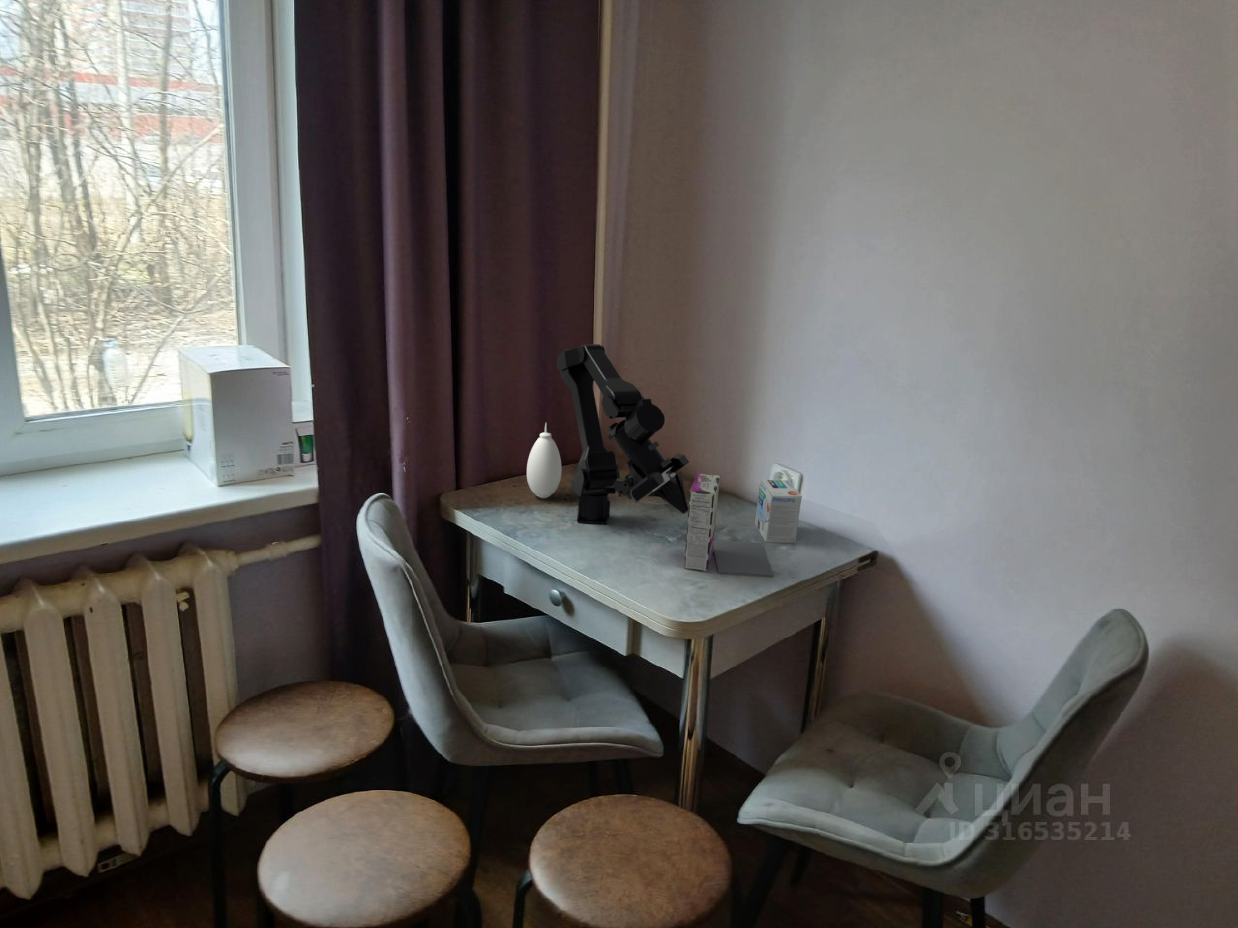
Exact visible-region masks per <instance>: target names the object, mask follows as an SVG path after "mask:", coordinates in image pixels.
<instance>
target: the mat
mask: <svg viewBox="0 0 1238 928" xmlns="http://www.w3.org/2000/svg"><path fill="white" fill-rule="evenodd" d="M713 555H714V559H715V563H716V564H715V565H716V569H717V572H718V574H719V575H734V576H735V575H737V576H749V575H755V576H754V577H765V576H767V578H768V577H769V578H772V577H774V574H773V571H772V569H771V566H770V563H769V559H768V558H767V555H766V552H765V549H764V545H763V544H762V542H751V541H734V540H733V541H732V540H719V539H718V540H717V539H714V546H713Z"/></svg>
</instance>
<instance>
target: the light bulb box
mask: <svg viewBox="0 0 1238 928" xmlns="http://www.w3.org/2000/svg"><path fill="white" fill-rule="evenodd" d="M758 491H759V492H758V497H757V498H758V499H757V504H756V505H757V507H756V515H755V520H754V524H755V527H756V528H757V530H758V532H759V533H760V535H761V536H762V538H763V540H764V542H765V543H773V544H774V543H775V544H778V543H781V544H796V539H797V532H798V527H799V526H798V525H799V518H800V511H801V510H800V509H801V503H802V498H803V497H802V495H801V493H800V492H799V491H798V490H797V489H796V488H795V485H793V484H792V482H790V480H788V479H787V480H785V479H784V480H782V479H774V480H773V479H760V480H759V490H758Z"/></svg>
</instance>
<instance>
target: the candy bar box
mask: <svg viewBox="0 0 1238 928" xmlns="http://www.w3.org/2000/svg"><path fill="white" fill-rule="evenodd" d="M720 477H721V476H720V475H717V474H709V473H708V474H707V473H702V472H701V473H700V472H699V473H696V475H695V478H694V481H693V483H692V485H691V488H690V490H689V503H688V504H689V505H688V511H687V512H688V513H687V526H686V527H687V528H686V538H685V539H686V540H685V541H686V542H685V549H684V552H685V554H684V564H683V568H684V569H685V570H690V571H700V572H708V571H709V567H710V563H711V560H712V556H713V554H714V551H713V546H714V540H715V535H716V534H715V533H716V524H717V513H718V512H717V511H718V500H719V499H718V498H719V490H720Z"/></svg>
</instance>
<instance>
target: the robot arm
mask: <svg viewBox="0 0 1238 928" xmlns="http://www.w3.org/2000/svg"><path fill="white" fill-rule="evenodd" d="M556 367H557V370H558V371H559V374H560V378H561V380H562V382H563V384H564V385H566V387H568V388H569V390H570V391H571V396H572V402H573V407H574V412H575V417H576V422H577V429H578V435H579V439H580V445H581V450H582V451H581V452H582V454H581V456H580V458H579V461H578V464H577V472H576V473H575V475H574V476H573V478H572V480H571V490H572V492H574V493H575V494H576V495H577V497H578V509H577V516H576V517H577V518H576V522H577V523H585V524H599V525H607V524H608V520H609V519H610V513H611V512H610V511H611V510H610V509H611V497H609V495H610V494H611V495H612V494H614V495H615V494H616V493H617V494H618V496H619V497H626V498H627V499H628V500H630V501H631V500H633V502H635V503H637V502H639V501H640V500H641V499H643V498H645V496H647V495H648V497H649V498H651V497H657V498H661V499H662V500H664V501H665V502H666V503H668V504H670V505H671V506H672V507H674V508H675V509H676V510H678V511H679V512H680V513H682V514H685V513H687V512H688V511H689V505H688V503H687V498H686V493H685V488H684V482H683V476H682V475H683V471H682V470H680V469H682V468H684V467H685V466H686V465H688V464H689V463H690V461H689V460H688V459H687V457H686V456H685V454H682V453H677V454H675V455H674V456H672V458H669V457H668V458H667V459H666V458H665V457H664V455H663V454H662V453H661V451H660V450H659V449H658V447H659V446H660V444H659V442H658V441H657V440H655V442H653V440H652V439H651V438H652V437H653V436H654V435H655V434H656V433H658V432H659V431H661V429H662V428H663V427H664V426H665V422H666V418H665V415H664V413H663V411H662V410H661V409H660V408H659V406H657V405H655V404H653V403H652V399H651V398H645V397H644V396H643V395H642V393H641V392H640V389H638V388H637V387H636V386H635V385H634V384H633V383H631V382H629V381H626V380H624V379H623V378H622V377H621V376H620V374H619V372H618V370H617V369H616V368H615V366H614V365H613V363H612V362H611V360H610V359H609V357H608V356H607V354H606V349H605V346H604V345H602V344H599V343H598V344H595V343H594V344H593V343H591V344H582V345H579V346H577V347H575V348H571V349H563V350H562V351H561V353H559V354H558V355H557V358H556ZM594 382H595V385H596V386H597V387H598V389H599V390H600V392H601V394H602V399H601V403H600V404H601V406H602V410H603V412H604V413H605V415H606V417H607V418H608V419H609V420H611V419H622V420H621V421H619V422H613V424H611V425H609V426H608V427H607V428H608V434H607V437H608V440H609V441H612V440H614V442H616V444H617V445H618V446H619V447H620V450H622V452H623V453H624V454H625V456H626V457H627V458H628V461H627V462H626V466H627V467H628V469H629V471H628V473H627V474H626V475H625V476H624V477H620V471H619V469H618V468H619V467H618V464H617V461H616V455H615V453H614V451H613V450H611V451H609V450H608V449H607V448H606V447H605V444H604V443H605V442H604V438H603V433H602V428H601V424H600V417H599V412H598V407H597V402H596V397H595V392H594V386H593V384H594ZM677 471H678V473H676V472H677Z"/></svg>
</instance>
